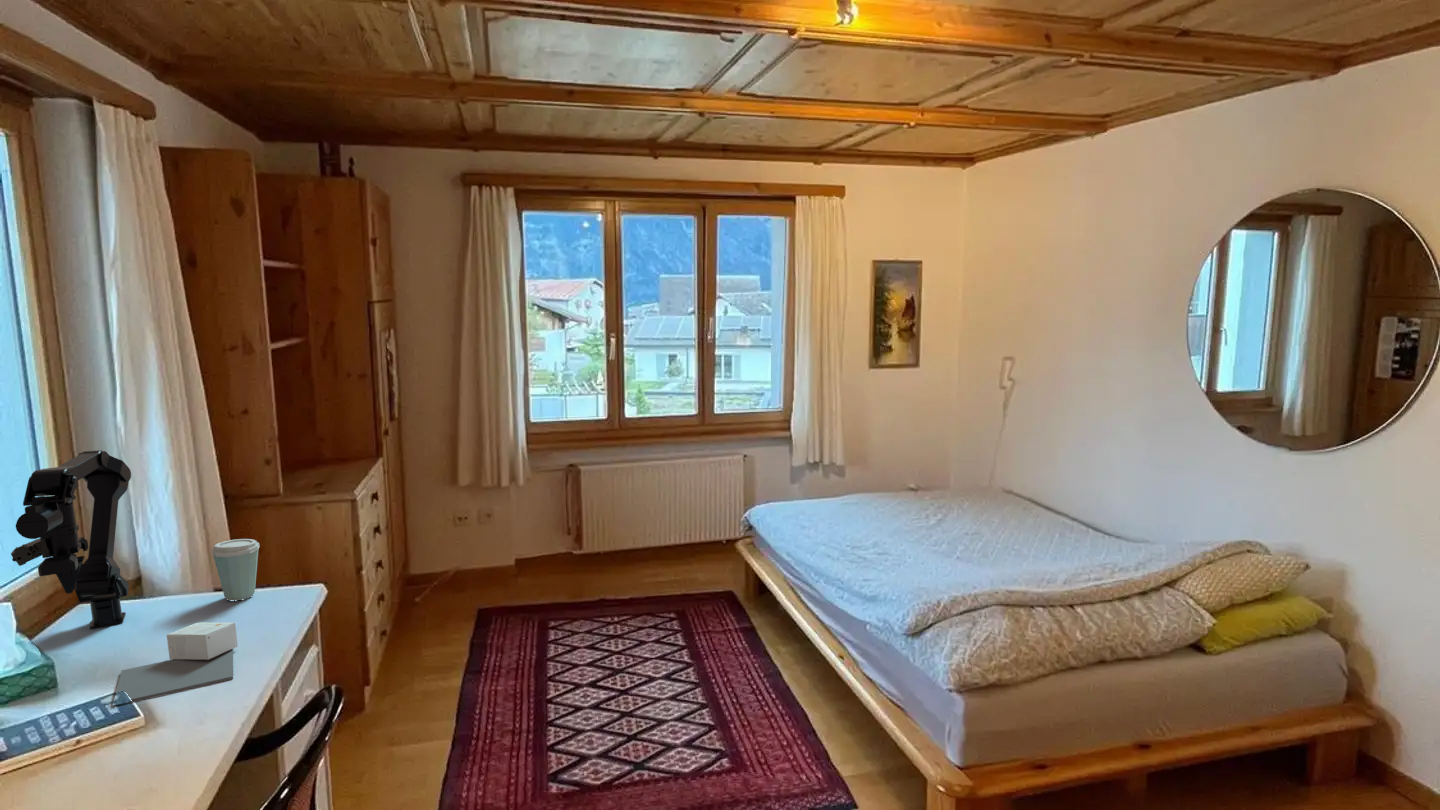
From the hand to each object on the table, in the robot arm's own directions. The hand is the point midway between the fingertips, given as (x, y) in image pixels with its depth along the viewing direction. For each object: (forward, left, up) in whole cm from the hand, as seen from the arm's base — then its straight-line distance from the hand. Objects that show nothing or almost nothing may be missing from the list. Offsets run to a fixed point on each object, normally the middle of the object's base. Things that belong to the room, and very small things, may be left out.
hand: (69, 592), depth 180 cm
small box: (+16, +21, -10) cm, 28 cm away
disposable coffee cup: (-14, +32, -13) cm, 37 cm away
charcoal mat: (+28, +20, -13) cm, 37 cm away
